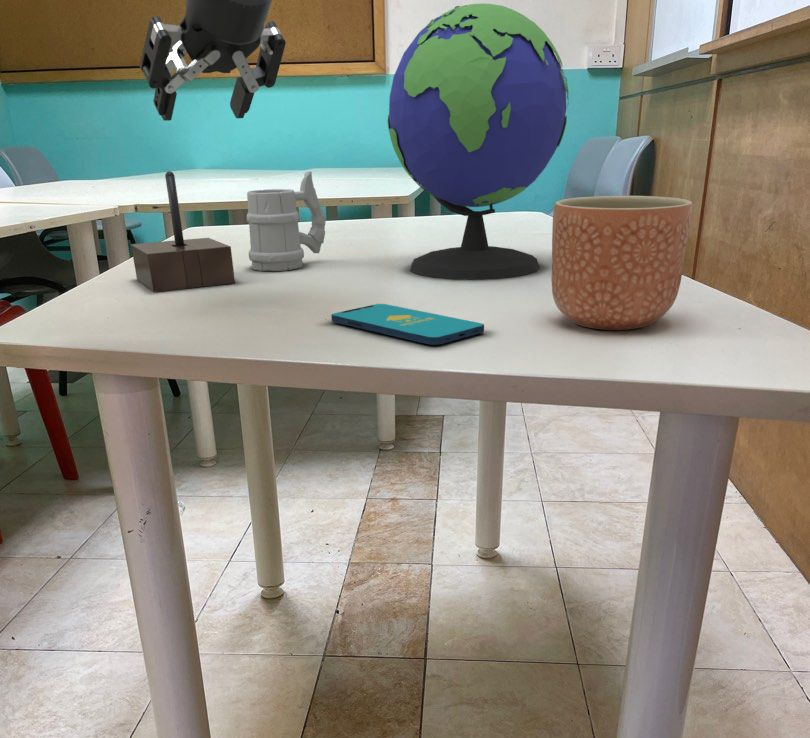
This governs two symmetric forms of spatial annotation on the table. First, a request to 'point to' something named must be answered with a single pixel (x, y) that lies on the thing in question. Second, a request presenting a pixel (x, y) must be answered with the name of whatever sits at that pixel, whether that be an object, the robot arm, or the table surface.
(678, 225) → the planter
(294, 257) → the mug
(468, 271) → the globe
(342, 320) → the smartphone
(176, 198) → the stylus
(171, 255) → the pen stand
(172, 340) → the table surface
